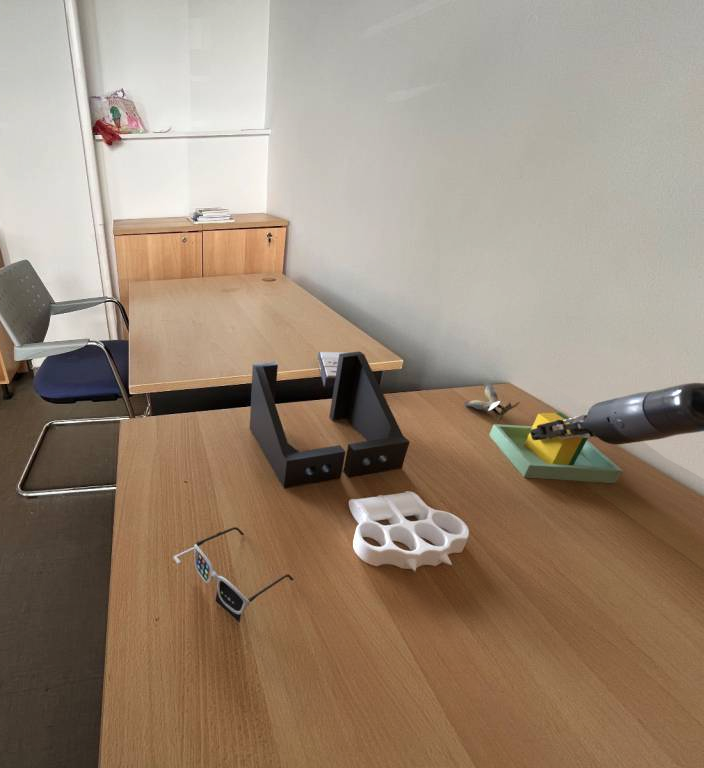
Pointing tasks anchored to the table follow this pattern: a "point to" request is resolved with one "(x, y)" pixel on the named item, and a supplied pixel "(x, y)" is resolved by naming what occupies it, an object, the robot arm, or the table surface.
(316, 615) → the table surface
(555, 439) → the sponge
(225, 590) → the smart glasses
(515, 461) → the tray
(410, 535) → the white brass knuckles
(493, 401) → the eagle figurine
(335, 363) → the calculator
